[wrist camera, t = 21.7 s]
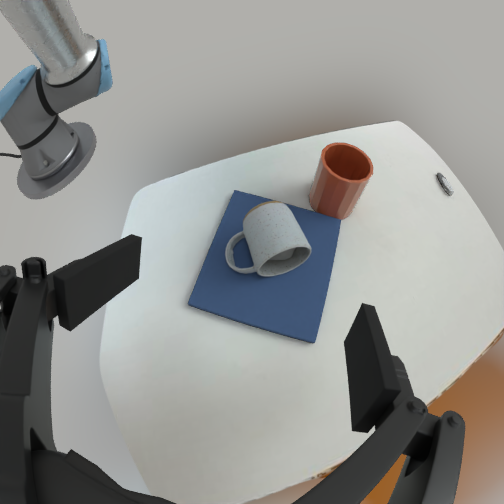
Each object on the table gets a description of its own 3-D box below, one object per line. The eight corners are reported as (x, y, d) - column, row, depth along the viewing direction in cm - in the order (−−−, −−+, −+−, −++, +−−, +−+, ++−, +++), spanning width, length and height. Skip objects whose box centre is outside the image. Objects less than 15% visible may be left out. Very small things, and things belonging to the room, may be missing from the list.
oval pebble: (433, 174, 52) (435, 171, 51) (440, 174, 52) (442, 171, 51) (447, 195, 49) (449, 192, 48) (454, 195, 49) (456, 192, 48)
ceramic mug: (284, 219, 44) (290, 189, 37) (306, 265, 41) (317, 241, 34) (218, 240, 43) (213, 212, 36) (236, 290, 39) (233, 269, 32)
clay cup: (304, 212, 46) (317, 172, 37) (313, 177, 49) (325, 136, 40) (350, 226, 45) (372, 189, 36) (355, 190, 48) (373, 152, 39)
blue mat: (188, 305, 39) (187, 303, 38) (234, 193, 47) (234, 189, 46) (313, 343, 37) (315, 342, 36) (339, 222, 45) (341, 219, 44)
